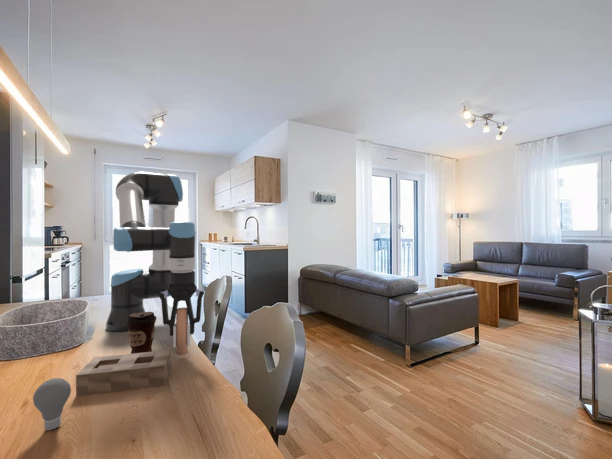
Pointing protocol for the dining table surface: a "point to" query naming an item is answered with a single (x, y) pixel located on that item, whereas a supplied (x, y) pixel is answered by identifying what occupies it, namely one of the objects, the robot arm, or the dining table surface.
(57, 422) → the light bulb
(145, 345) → the coffee cup
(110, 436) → the dining table surface
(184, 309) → the dowel
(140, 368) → the bore block
